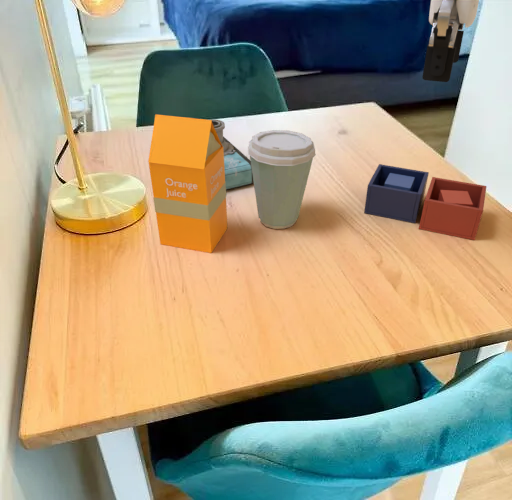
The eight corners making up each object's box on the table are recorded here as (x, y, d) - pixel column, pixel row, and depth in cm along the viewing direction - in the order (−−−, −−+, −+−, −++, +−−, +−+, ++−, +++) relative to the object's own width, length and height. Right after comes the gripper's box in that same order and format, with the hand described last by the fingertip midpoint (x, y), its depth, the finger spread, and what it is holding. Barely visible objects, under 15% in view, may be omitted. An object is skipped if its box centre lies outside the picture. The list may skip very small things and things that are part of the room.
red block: (461, 213, 86) (467, 191, 84) (466, 227, 83) (473, 204, 80) (435, 212, 87) (440, 189, 84) (438, 225, 83) (444, 202, 81)
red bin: (478, 214, 87) (486, 185, 84) (474, 240, 81) (483, 210, 77) (426, 204, 90) (432, 176, 87) (418, 229, 83) (424, 199, 80)
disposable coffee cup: (257, 201, 92) (256, 121, 83) (316, 208, 89) (321, 126, 81) (241, 232, 83) (238, 147, 74) (305, 241, 81) (310, 154, 72)
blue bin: (423, 199, 91) (428, 172, 88) (415, 223, 85) (421, 194, 82) (375, 190, 94) (379, 163, 91) (364, 213, 88) (367, 185, 85)
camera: (255, 138, 91) (203, 148, 88) (255, 185, 97) (206, 196, 93) (219, 109, 103) (173, 117, 100) (222, 153, 109) (177, 162, 105)
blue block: (410, 199, 91) (415, 177, 88) (406, 210, 87) (410, 188, 85) (386, 194, 92) (389, 172, 90) (381, 205, 89) (384, 183, 86)
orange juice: (179, 219, 87) (166, 105, 75) (228, 227, 84) (222, 110, 73) (159, 244, 80) (141, 124, 69) (211, 254, 78) (202, 131, 67)
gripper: (502, -87, 49) (464, 92, 58) (508, -90, 62) (476, 57, 71) (422, -85, 51) (398, 86, 61) (443, -88, 64) (421, 53, 74)
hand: (440, 70), depth 66 cm, fingers open, 9 cm apart
